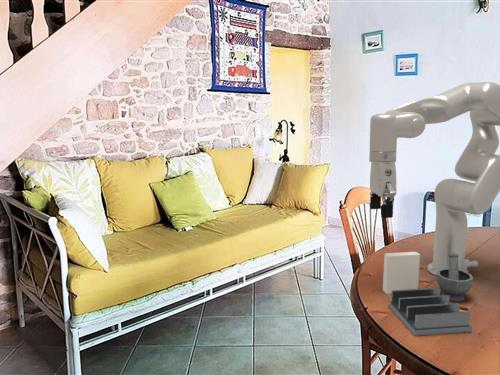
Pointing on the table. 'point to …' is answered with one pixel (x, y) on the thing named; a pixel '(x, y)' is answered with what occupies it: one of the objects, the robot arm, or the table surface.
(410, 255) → the white flat block
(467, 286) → the mortar and pestle
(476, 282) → the table surface
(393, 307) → the rack
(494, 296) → the table surface
